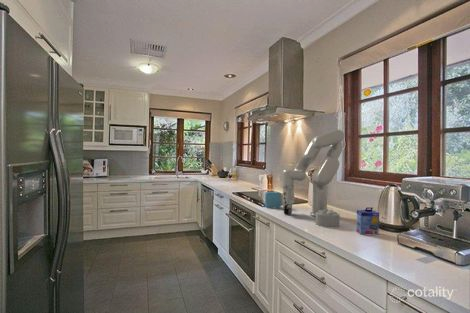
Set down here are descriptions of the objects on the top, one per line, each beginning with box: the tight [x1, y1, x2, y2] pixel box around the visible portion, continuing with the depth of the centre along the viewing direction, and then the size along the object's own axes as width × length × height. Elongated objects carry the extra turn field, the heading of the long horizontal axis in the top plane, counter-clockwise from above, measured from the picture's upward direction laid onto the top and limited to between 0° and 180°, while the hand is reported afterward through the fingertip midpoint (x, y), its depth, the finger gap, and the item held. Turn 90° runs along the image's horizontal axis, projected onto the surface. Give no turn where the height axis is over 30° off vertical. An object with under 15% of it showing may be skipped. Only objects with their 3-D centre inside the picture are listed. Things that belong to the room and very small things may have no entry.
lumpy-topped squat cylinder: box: [315, 209, 341, 228], centre depth 144 cm, size 10×13×9 cm
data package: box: [264, 191, 282, 209], centre depth 189 cm, size 12×4×12 cm, turn 94°
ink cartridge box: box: [355, 206, 380, 235], centre depth 129 cm, size 10×6×14 cm, turn 91°
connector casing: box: [284, 204, 292, 216], centre depth 167 cm, size 4×4×7 cm
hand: (287, 213), depth 167 cm, fingers closed on connector casing, 4 cm apart
